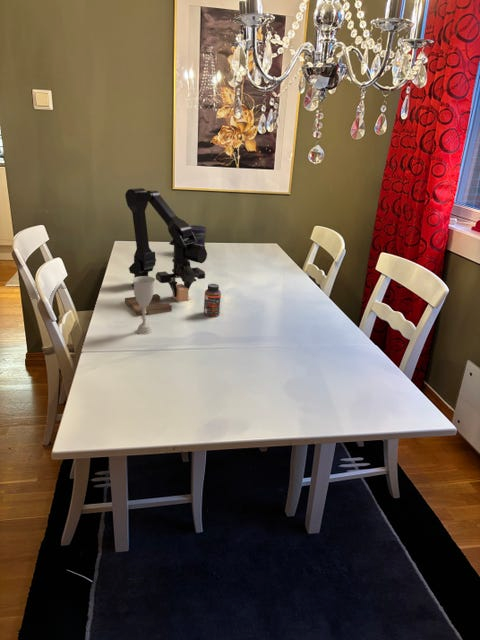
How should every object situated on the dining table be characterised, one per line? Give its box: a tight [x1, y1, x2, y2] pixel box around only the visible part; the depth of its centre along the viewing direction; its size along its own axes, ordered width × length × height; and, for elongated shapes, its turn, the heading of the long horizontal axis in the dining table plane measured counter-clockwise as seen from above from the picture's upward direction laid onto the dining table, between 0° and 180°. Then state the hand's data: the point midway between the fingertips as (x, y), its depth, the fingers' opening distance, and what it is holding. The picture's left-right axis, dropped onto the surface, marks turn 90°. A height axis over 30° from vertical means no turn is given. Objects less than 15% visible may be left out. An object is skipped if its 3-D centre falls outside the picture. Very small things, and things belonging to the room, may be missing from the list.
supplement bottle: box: [203, 283, 222, 318], centre depth 178 cm, size 6×6×11 cm
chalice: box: [132, 275, 156, 335], centre depth 159 cm, size 7×7×18 cm
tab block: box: [172, 283, 189, 303], centre depth 192 cm, size 6×4×5 cm, turn 31°
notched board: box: [124, 293, 173, 317], centre depth 182 cm, size 14×13×2 cm
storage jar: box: [186, 224, 207, 249], centre depth 249 cm, size 10×10×15 cm
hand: (180, 296), depth 193 cm, fingers closed on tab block, 4 cm apart
